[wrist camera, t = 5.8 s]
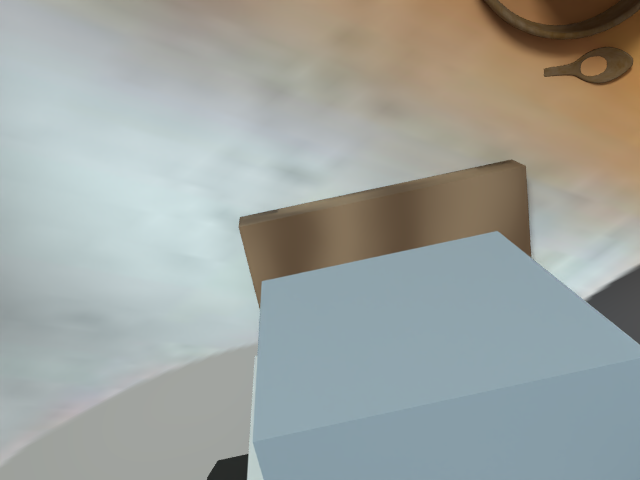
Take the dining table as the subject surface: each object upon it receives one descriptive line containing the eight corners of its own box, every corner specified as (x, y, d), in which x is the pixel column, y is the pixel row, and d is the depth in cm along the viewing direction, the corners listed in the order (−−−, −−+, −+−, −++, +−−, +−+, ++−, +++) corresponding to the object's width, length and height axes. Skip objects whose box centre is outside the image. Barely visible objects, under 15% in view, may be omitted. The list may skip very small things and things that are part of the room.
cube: (310, 471, 18) (329, 707, 12) (261, 281, 16) (252, 442, 9) (516, 426, 18) (651, 637, 12) (497, 231, 16) (652, 355, 9)
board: (270, 337, 34) (271, 353, 33) (240, 217, 32) (238, 227, 30) (520, 283, 35) (533, 295, 33) (511, 159, 32) (525, 166, 30)
